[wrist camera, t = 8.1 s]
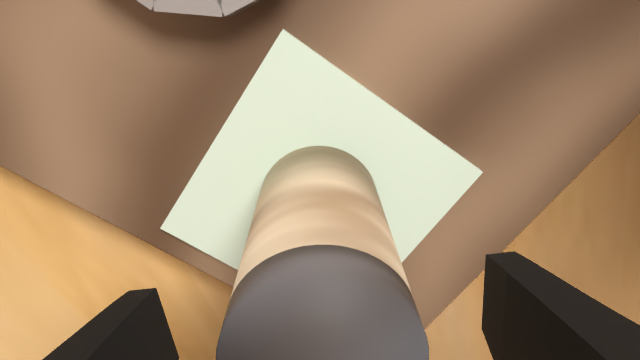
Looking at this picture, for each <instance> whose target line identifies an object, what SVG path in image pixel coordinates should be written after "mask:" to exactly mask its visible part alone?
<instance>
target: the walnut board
mask: <svg viewBox="0 0 640 360" xmlns="http://www.w3.org/2000/svg"><path fill="white" fill-rule="evenodd" d="M282 29H284V30H286V31H287V32H288V33H290V34H291V35H293V36H294V37H295V38H297V39H298V40H300V41H301V42H302V43H304V44H305V45H307V46H308V47H309V48H311V49H312V50H314V51H315V52H316V53H318V54H319V55H321V56H322V57H323V58H325V59H326V60H328V61H329V62H330V63H332V64H333V65H335V66H336V67H337V68H339V69H340V70H342V71H343V72H344V73H346V74H347V75H349V76H350V77H351V78H353V79H354V80H356V81H357V82H358V83H360V84H361V85H363V86H364V87H365V88H367V89H368V90H370V91H371V92H372V93H374V94H375V95H377V96H378V97H380V98H381V99H382V100H384V101H385V102H387V103H388V104H389V105H391V106H392V107H394V108H395V109H396V110H398V111H399V112H401V113H402V114H403V115H405V116H406V117H408V118H409V119H410V120H412V121H413V122H415V123H416V124H417V125H419V126H420V127H422V128H423V129H424V130H426V131H427V132H429V133H430V134H431V135H433V136H434V137H436V138H437V139H438V140H440V141H441V142H443V143H444V144H445V145H447V146H448V147H450V148H451V149H452V150H454V151H455V152H457V153H458V154H459V155H461V156H462V157H464V158H465V159H466V160H468V161H469V162H471V163H472V164H473V165H475V166H476V167H478V168H479V169H480V170H481V171H482V172H483V173H482V174H481V175H480V176H479V177H478V179H477V180H476V181H475V182H474V183H473V184H472V185H471V186H470V187H469V189H468V190H467V191H466V192H465V193H464V194H463V195H462V196H461V197H460V199H459V200H458V201H457V202H456V203H455V204H454V205H453V206H452V207H451V209H450V210H449V211H448V212H447V213H446V214H445V215H444V216H443V217H442V219H441V220H440V221H439V222H438V223H437V224H436V225H435V226H434V227H433V229H432V230H431V231H430V232H429V233H428V234H427V235H426V236H425V238H424V239H423V240H422V241H421V242H420V243H419V244H418V245H417V246H416V248H415V249H414V250H413V251H412V252H411V253H410V254H409V255H408V256H407V258H406V259H405V260H404V261H403V262H402V266H403V269H404V272H405V275H406V278H407V281H408V284H409V287H410V290H411V293H412V296H413V299H414V301H415V304H416V307H417V310H418V313H419V316H420V319H421V322H422V325H423V328H424V329H425V328H426V327H427V326H428V325H429V324H430V323H431V322H432V321H433V320H434V319H435V318H436V317H437V316H438V315H439V314H440V313H441V312H442V311H443V310H444V309H445V308H446V307H447V306H448V305H449V304H450V303H451V302H452V301H453V300H454V299H455V298H456V297H457V296H458V295H459V294H460V293H461V292H462V291H463V290H464V289H465V288H466V287H467V286H468V285H469V284H470V283H471V282H472V281H473V280H474V279H475V278H476V277H477V276H478V275H479V274H480V273H481V272H482V271H483V270H484V269H485V258H486V254H495V253H501V252H502V251H503V250H504V249H505V248H506V247H507V246H508V245H509V244H510V243H511V242H512V241H513V240H514V239H515V238H516V237H517V236H518V235H519V234H520V233H521V232H522V231H523V230H524V229H525V228H526V227H527V226H528V225H529V224H530V223H531V222H532V221H533V220H534V219H535V218H536V217H537V216H538V215H539V214H540V213H541V212H542V211H543V210H544V209H545V208H546V207H547V206H548V205H549V204H550V203H551V202H552V201H553V200H554V199H555V198H556V197H557V196H558V195H559V194H560V193H561V192H562V191H563V190H564V189H565V188H566V187H567V186H568V185H569V184H570V183H571V182H572V181H573V180H574V179H575V178H576V177H577V176H578V175H579V174H580V173H581V172H582V171H583V170H584V169H585V168H586V167H587V166H588V165H589V164H590V163H591V162H592V161H593V159H594V158H595V157H596V156H597V155H598V154H599V153H600V152H601V151H602V150H603V149H604V148H605V147H606V146H607V145H608V144H609V143H610V142H611V141H612V140H613V139H614V138H615V137H616V136H617V135H618V134H619V133H620V132H621V131H622V130H623V129H624V128H625V127H626V126H627V125H628V124H629V123H630V122H631V121H632V120H633V119H634V118H635V117H636V116H637V115H638V114H639V113H640V0H261V1H259V2H257V3H255V4H253V5H252V6H250V7H248V8H246V9H244V10H242V11H240V12H238V13H237V14H235V15H233V16H226V17H216V16H204V15H192V14H181V13H169V12H157V11H154V10H150V9H149V8H147V7H146V6H144V5H143V4H141V3H140V2H138V1H137V0H0V166H2V167H4V168H6V169H8V170H10V171H12V172H13V173H15V174H17V175H19V176H21V177H23V178H25V179H27V180H29V181H31V182H33V183H35V184H36V185H38V186H40V187H42V188H44V189H46V190H48V191H50V192H52V193H54V194H56V195H57V196H59V197H61V198H63V199H65V200H67V201H69V202H71V203H73V204H75V205H77V206H79V207H80V208H82V209H84V210H86V211H88V212H90V213H92V214H94V215H96V216H98V217H100V218H101V219H103V220H105V221H107V222H109V223H111V224H113V225H115V226H117V227H119V228H121V229H123V230H124V231H126V232H128V233H130V234H132V235H134V236H136V237H138V238H140V239H142V240H144V241H146V242H147V243H149V244H151V245H153V246H155V247H157V248H159V249H161V250H163V251H165V252H167V253H168V254H170V255H172V256H174V257H176V258H178V259H180V260H182V261H184V262H186V263H188V264H190V265H191V266H193V267H195V268H197V269H199V270H201V271H203V272H205V273H207V274H209V275H211V276H212V277H214V278H216V279H218V280H220V281H222V282H224V283H226V284H228V285H230V286H232V287H234V283H235V280H236V276H237V273H238V270H237V269H235V268H233V267H231V266H229V265H227V264H226V263H224V262H222V261H220V260H218V259H216V258H214V257H212V256H211V255H209V254H207V253H205V252H203V251H201V250H199V249H198V248H196V247H194V246H192V245H190V244H188V243H186V242H184V241H183V240H181V239H179V238H177V237H175V236H173V235H171V234H170V233H168V232H166V231H164V230H162V229H160V228H161V226H162V224H163V223H164V221H165V220H166V218H167V216H168V215H169V213H170V211H171V210H172V208H173V207H174V205H175V203H176V202H177V200H178V198H179V197H180V195H181V194H182V192H183V190H184V189H185V187H186V185H187V184H188V182H189V181H190V179H191V177H192V176H193V174H194V172H195V171H196V169H197V168H198V166H199V164H200V163H201V161H202V159H203V158H204V156H205V155H206V153H207V151H208V150H209V148H210V146H211V145H212V143H213V142H214V140H215V138H216V137H217V135H218V133H219V132H220V130H221V129H222V127H223V125H224V124H225V122H226V120H227V119H228V117H229V116H230V114H231V112H232V111H233V109H234V107H235V106H236V104H237V103H238V101H239V99H240V98H241V96H242V94H243V93H244V91H245V90H246V88H247V86H248V85H249V83H250V81H251V80H252V78H253V77H254V75H255V73H256V72H257V70H258V68H259V67H260V65H261V64H262V62H263V60H264V59H265V57H266V55H267V54H268V52H269V51H270V49H271V47H272V46H273V44H274V42H275V41H276V39H277V38H278V36H279V34H280V33H281V31H282Z"/></svg>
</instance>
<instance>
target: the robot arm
mask: <svg viewBox="0 0 640 360" xmlns="http://www.w3.org/2000/svg"><path fill="white" fill-rule="evenodd" d="M482 331H483V333H484V336H485V339H486V341H487V344H488V347H489V349H490V352H491V354H492V357H493V359H494V360H640V325H638V324H636V323H635V322H633V321H631V320H629V319H627V318H626V317H624V316H622V315H620V314H619V313H617V312H615V311H613V310H612V309H610V308H608V307H607V306H605V305H603V304H601V303H600V302H598V301H596V300H595V299H593V298H591V297H590V296H588V295H586V294H585V293H583V292H581V291H580V290H578V289H576V288H575V287H573V286H571V285H570V284H568V283H567V282H565V281H563V280H562V279H560V278H558V277H557V276H555V275H553V274H552V273H550V272H549V271H547V270H545V269H544V268H542V267H540V266H539V265H537V264H535V263H534V262H532V261H530V260H529V259H527V258H525V257H524V256H522V255H520V254H518V253H516V252H505V253H495V254H486V258H485V277H484V296H483V315H482ZM43 360H179V356H178V353H177V350H176V347H175V344H174V341H173V338H172V335H171V332H170V329H169V326H168V323H167V320H166V316H165V313H164V310H163V307H162V304H161V301H160V298H159V295H158V292H157V289H156V288H152V289H142V290H132V291H128V292H127V293H125V294H124V295H123V296H121V297H120V298H118V299H117V300H116V301H114V302H113V303H112V304H111V305H109V306H108V307H107V308H105V309H104V310H103V311H102V312H100V313H99V314H98V315H97V316H96V317H94V318H93V319H92V320H91V321H89V322H88V323H87V324H86V325H84V326H83V327H82V328H81V329H80V330H78V331H77V332H76V333H75V334H73V335H72V336H71V337H70V338H68V339H67V340H66V341H65V342H64V343H62V344H61V345H60V346H59V347H57V348H56V349H55V350H54V351H52V352H51V353H50V354H49V355H48V356H46V357H45V358H44V359H43Z"/></svg>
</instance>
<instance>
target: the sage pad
mask: <svg viewBox="0 0 640 360" xmlns="http://www.w3.org/2000/svg"><path fill="white" fill-rule="evenodd" d="M309 146H328V147H334V148H337V149H340V150H343V151H345V152H347V153H349V154H351V155H353V156H354V157H355V158H357V159H358V160H359V161H360V162H361V163H362V164H363V165H364V166H365V167H366V169H367V170H368V171H369V173H370V175H371V176H372V179H373V181H374V184H375V187H376V190H377V193H378V196H379V198H380V201H381V204H382V207H383V210H384V213H385V216H386V219H387V222H388V225H389V228H390V231H391V234H392V237H393V240H394V243H395V246H396V249H397V251H398V254H399V257H400V260H401V263H402V262H403V261H404V260H405V259H406V258H407V256H408V255H409V254H410V253H411V252H412V251H413V250H414V249H415V248H416V246H417V245H418V244H419V243H420V242H421V241H422V240H423V239H424V238H425V236H426V235H427V234H428V233H429V232H430V231H431V230H432V229H433V227H434V226H435V225H436V224H437V223H438V222H439V221H440V220H441V219H442V217H443V216H444V215H445V214H446V213H447V212H448V211H449V210H450V209H451V207H452V206H453V205H454V204H455V203H456V202H457V201H458V200H459V199H460V197H461V196H462V195H463V194H464V193H465V192H466V191H467V190H468V189H469V187H470V186H471V185H472V184H473V183H474V182H475V181H476V180H477V179H478V177H479V176H480V175H481V174H482V173H483V172H482V171H481V170H480V169H479V168H478V167H476V166H475V165H473V164H472V163H471V162H469V161H468V160H466V159H465V158H464V157H462V156H461V155H459V154H458V153H457V152H455V151H454V150H452V149H451V148H450V147H448V146H447V145H445V144H444V143H443V142H441V141H440V140H438V139H437V138H436V137H434V136H433V135H431V134H430V133H429V132H427V131H426V130H424V129H423V128H422V127H420V126H419V125H417V124H416V123H415V122H413V121H412V120H410V119H409V118H408V117H406V116H405V115H403V114H402V113H401V112H399V111H398V110H396V109H395V108H394V107H392V106H391V105H389V104H388V103H387V102H385V101H384V100H382V99H381V98H380V97H378V96H377V95H375V94H374V93H372V92H371V91H370V90H368V89H367V88H365V87H364V86H363V85H361V84H360V83H358V82H357V81H356V80H354V79H353V78H351V77H350V76H349V75H347V74H346V73H344V72H343V71H342V70H340V69H339V68H337V67H336V66H335V65H333V64H332V63H330V62H329V61H328V60H326V59H325V58H323V57H322V56H321V55H319V54H318V53H316V52H315V51H314V50H312V49H311V48H309V47H308V46H307V45H305V44H304V43H302V42H301V41H300V40H298V39H297V38H295V37H294V36H293V35H291V34H290V33H288V32H287V31H286V30H284V29H282V31H281V33H280V34H279V36H278V38H277V39H276V41H275V42H274V44H273V46H272V47H271V49H270V51H269V52H268V54H267V55H266V57H265V59H264V60H263V62H262V64H261V65H260V67H259V68H258V70H257V72H256V73H255V75H254V77H253V78H252V80H251V81H250V83H249V85H248V86H247V88H246V90H245V91H244V93H243V94H242V96H241V98H240V99H239V101H238V103H237V104H236V106H235V107H234V109H233V111H232V112H231V114H230V116H229V117H228V119H227V120H226V122H225V124H224V125H223V127H222V129H221V130H220V132H219V133H218V135H217V137H216V138H215V140H214V142H213V143H212V145H211V146H210V148H209V150H208V151H207V153H206V155H205V156H204V158H203V159H202V161H201V163H200V164H199V166H198V168H197V169H196V171H195V172H194V174H193V176H192V177H191V179H190V181H189V182H188V184H187V185H186V187H185V189H184V190H183V192H182V194H181V195H180V197H179V198H178V200H177V202H176V203H175V205H174V207H173V208H172V210H171V211H170V213H169V215H168V216H167V218H166V220H165V221H164V223H163V224H162V226H161V228H160V229H162V230H164V231H166V232H168V233H170V234H171V235H173V236H175V237H177V238H179V239H181V240H183V241H184V242H186V243H188V244H190V245H192V246H194V247H196V248H198V249H199V250H201V251H203V252H205V253H207V254H209V255H211V256H212V257H214V258H216V259H218V260H220V261H222V262H224V263H226V264H227V265H229V266H231V267H233V268H235V269H237V270H238V269H239V266H240V262H241V258H242V255H243V251H244V248H245V244H246V241H247V237H248V234H249V230H250V227H251V223H252V220H253V216H254V212H255V209H256V205H257V202H258V198H259V195H260V191H261V188H262V184H263V182H264V179H265V177H266V175H267V173H268V172H269V170H270V169H271V168H272V166H273V165H274V164H275V163H276V162H277V161H278V160H279V159H281V158H282V157H284V156H285V155H287V154H288V153H290V152H292V151H295V150H297V149H300V148H304V147H309Z"/></svg>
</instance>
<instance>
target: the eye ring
mask: <svg viewBox="0 0 640 360" xmlns="http://www.w3.org/2000/svg"><path fill="white" fill-rule="evenodd" d="M137 1H138V2H140V3H141V4H143V5H144V6H146V7H147V8H149V9H150V10H154V11H157V12H169V13H181V14H192V15H204V16H216V17H226V16H233V15H235V14H237V13H238V12H240V11H242V10H244V9H246V8H248V7H250V6H252V5H253V4H255V3H257V2H259V1H261V0H137Z"/></svg>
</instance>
